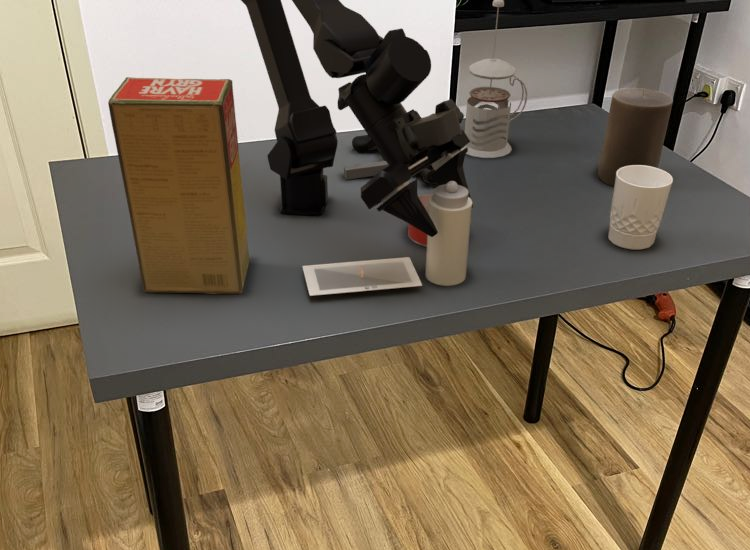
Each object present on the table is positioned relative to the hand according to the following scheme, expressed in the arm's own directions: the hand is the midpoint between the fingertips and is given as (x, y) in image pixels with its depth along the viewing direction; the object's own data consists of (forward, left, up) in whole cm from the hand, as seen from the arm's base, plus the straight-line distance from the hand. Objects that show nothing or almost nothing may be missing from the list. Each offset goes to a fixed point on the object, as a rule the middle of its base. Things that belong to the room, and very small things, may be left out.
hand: (453, 221), depth 109 cm
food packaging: (-34, -3, -8) cm, 35 cm away
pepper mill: (-1, 0, -8) cm, 8 cm away
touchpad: (-12, -3, -8) cm, 15 cm away
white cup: (+27, +14, -8) cm, 31 cm away
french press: (+7, +48, -8) cm, 49 cm away
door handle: (-11, +37, -8) cm, 39 cm away
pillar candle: (+30, +37, -8) cm, 48 cm away
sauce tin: (-2, +12, -8) cm, 15 cm away
